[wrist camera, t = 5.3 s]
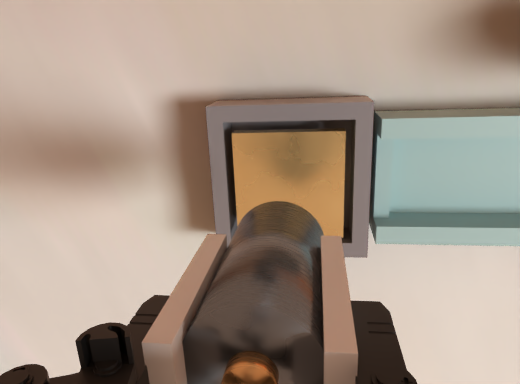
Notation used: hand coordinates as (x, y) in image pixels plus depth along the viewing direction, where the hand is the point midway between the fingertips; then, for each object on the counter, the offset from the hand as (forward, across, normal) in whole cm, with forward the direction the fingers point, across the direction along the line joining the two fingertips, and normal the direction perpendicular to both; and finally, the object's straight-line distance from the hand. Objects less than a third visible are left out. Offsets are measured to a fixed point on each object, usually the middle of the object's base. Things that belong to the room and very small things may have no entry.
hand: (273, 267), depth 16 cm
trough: (+14, +14, 0) cm, 19 cm away
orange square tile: (+11, 0, 0) cm, 11 cm away
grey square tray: (+14, 0, 0) cm, 14 cm away
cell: (+2, 0, 0) cm, 2 cm away
